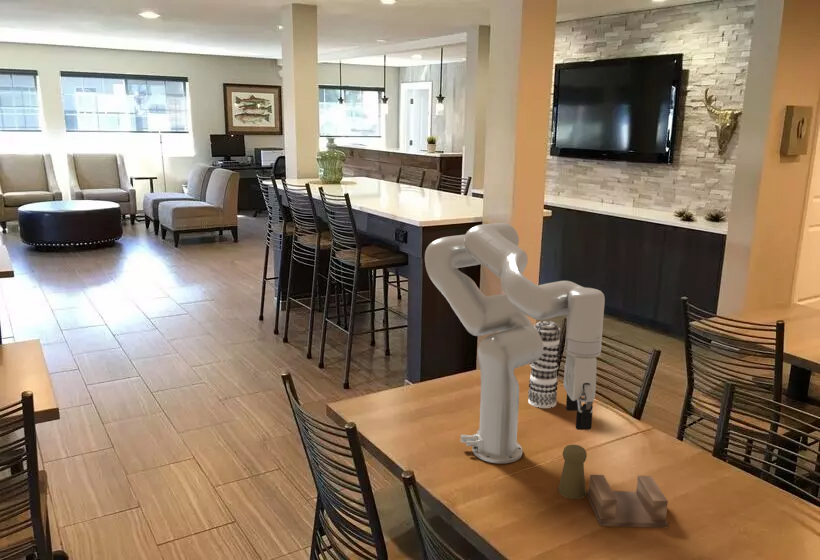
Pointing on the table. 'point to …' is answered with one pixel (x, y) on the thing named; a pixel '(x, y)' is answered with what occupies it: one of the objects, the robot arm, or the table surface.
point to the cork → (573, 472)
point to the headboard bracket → (628, 503)
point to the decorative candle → (545, 367)
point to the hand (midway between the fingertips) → (578, 419)
